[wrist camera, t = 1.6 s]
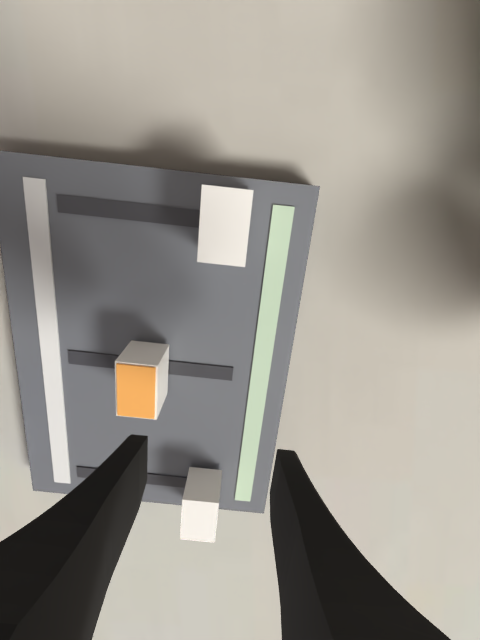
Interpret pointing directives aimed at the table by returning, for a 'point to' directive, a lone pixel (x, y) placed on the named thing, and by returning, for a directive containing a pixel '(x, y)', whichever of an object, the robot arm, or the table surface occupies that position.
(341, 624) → the robot arm
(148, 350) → the block
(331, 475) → the table surface
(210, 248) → the block
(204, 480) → the block
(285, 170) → the table surface
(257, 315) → the panel
